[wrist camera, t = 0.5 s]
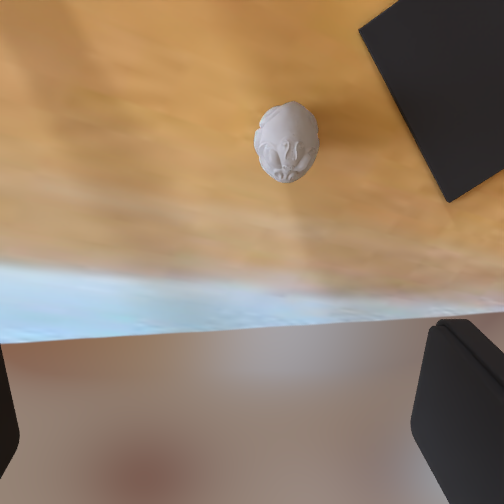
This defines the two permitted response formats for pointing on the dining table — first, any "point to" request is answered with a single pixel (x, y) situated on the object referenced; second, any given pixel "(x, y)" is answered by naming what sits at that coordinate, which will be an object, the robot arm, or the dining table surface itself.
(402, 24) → the mat
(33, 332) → the dining table surface
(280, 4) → the dining table surface
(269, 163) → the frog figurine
